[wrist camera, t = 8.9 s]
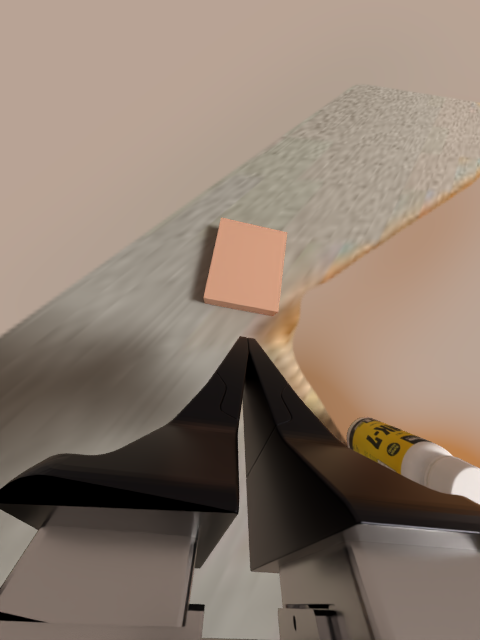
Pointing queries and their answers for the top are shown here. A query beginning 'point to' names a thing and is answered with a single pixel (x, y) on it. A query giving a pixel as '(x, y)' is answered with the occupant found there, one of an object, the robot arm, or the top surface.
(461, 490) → the supplement bottle
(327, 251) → the top surface
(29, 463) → the top surface
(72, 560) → the robot arm
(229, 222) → the tile
